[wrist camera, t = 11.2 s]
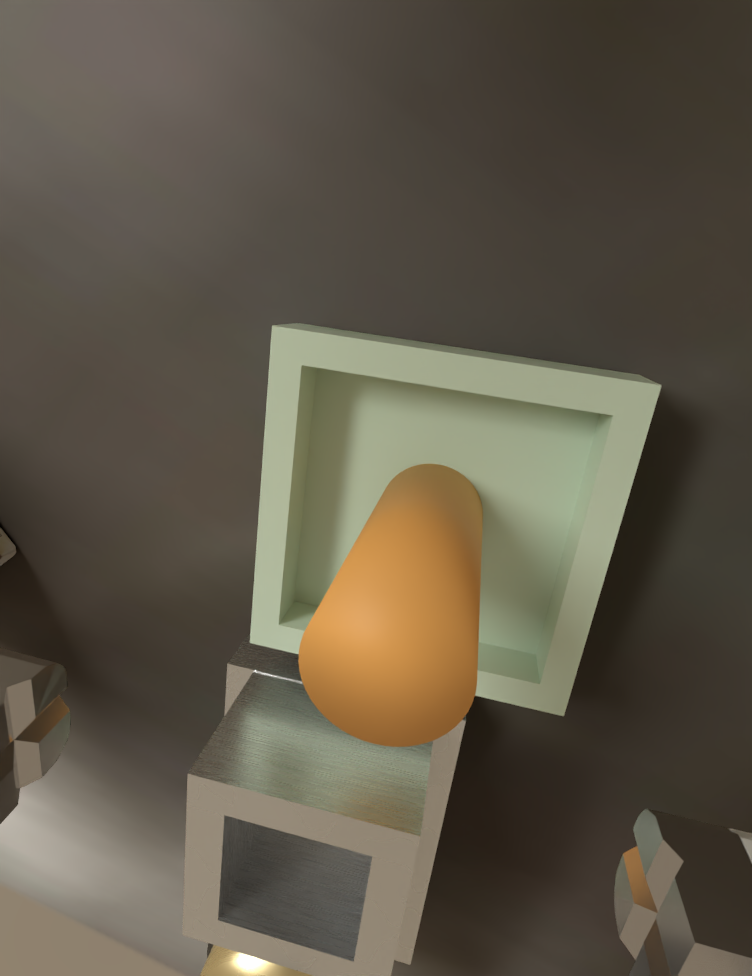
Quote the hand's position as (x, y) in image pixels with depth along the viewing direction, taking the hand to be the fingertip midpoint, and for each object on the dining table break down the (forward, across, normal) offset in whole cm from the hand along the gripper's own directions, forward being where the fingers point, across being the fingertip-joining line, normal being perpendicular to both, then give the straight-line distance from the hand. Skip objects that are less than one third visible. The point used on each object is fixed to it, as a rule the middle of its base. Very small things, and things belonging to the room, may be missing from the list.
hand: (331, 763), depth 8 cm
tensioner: (+12, +2, +15) cm, 19 cm away
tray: (+13, 0, +1) cm, 13 cm away
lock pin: (+12, 0, +1) cm, 12 cm away
